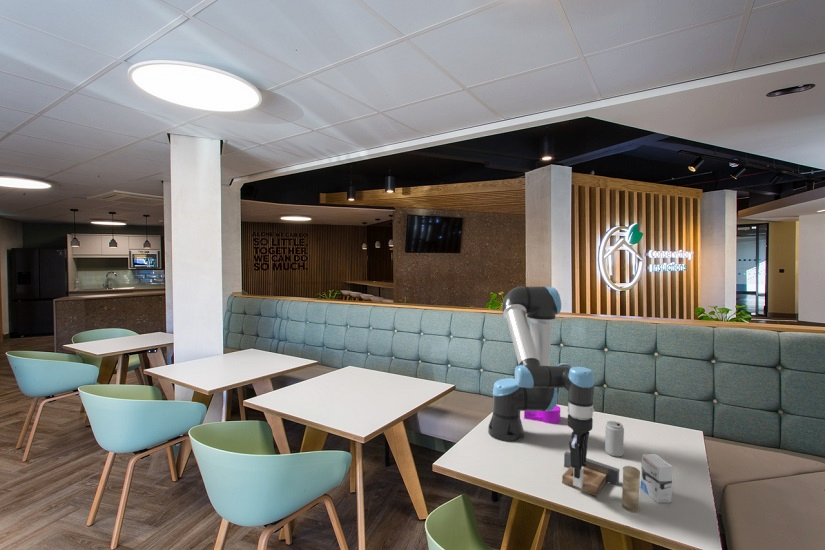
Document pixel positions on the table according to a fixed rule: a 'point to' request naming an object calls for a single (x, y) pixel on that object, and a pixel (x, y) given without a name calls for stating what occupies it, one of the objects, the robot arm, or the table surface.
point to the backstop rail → (597, 468)
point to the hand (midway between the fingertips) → (577, 485)
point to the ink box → (656, 478)
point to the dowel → (630, 488)
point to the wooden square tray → (586, 480)
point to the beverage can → (614, 438)
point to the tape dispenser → (544, 415)
